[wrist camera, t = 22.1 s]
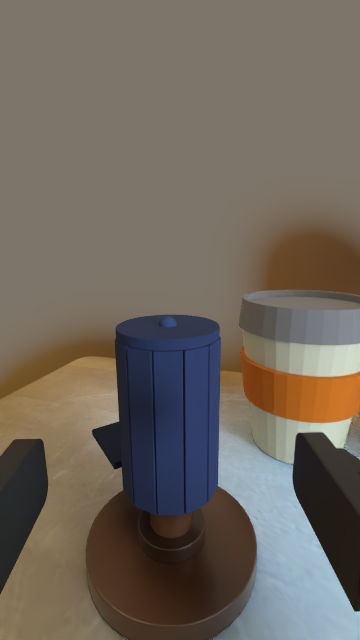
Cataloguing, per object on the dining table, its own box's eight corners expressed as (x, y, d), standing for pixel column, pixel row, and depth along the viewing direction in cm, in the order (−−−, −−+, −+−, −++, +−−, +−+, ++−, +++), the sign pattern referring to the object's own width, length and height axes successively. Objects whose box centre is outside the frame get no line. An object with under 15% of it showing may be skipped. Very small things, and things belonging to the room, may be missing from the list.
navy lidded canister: (236, 488, 20) (241, 319, 17) (150, 533, 17) (143, 335, 14) (156, 415, 28) (152, 295, 26) (89, 435, 25) (79, 302, 23)
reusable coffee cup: (218, 417, 39) (220, 292, 35) (310, 404, 42) (320, 287, 38) (272, 492, 27) (283, 315, 23) (395, 467, 30) (421, 306, 26)
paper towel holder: (178, 471, 29) (177, 309, 26) (289, 555, 21) (308, 336, 18) (58, 545, 22) (35, 334, 19) (158, 713, 14) (148, 397, 11)
